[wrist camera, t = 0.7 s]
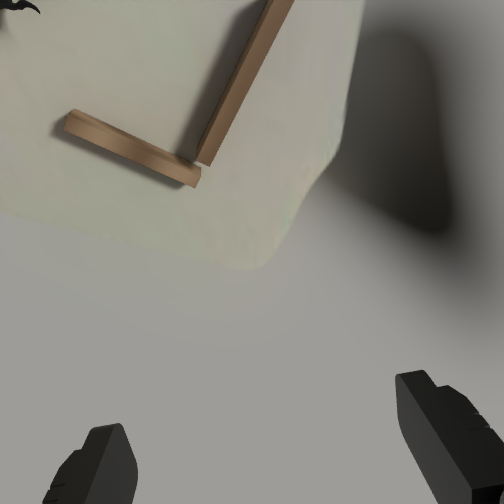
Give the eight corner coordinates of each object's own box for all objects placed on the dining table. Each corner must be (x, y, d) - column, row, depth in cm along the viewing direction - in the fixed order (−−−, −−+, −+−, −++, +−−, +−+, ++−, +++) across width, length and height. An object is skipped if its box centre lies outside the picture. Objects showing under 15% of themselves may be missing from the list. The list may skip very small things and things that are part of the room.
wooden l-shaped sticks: (70, 122, 31) (59, 133, 29) (137, -105, 24) (129, -116, 21) (196, 179, 35) (195, 193, 32) (287, -2, 28) (294, -1, 25)
